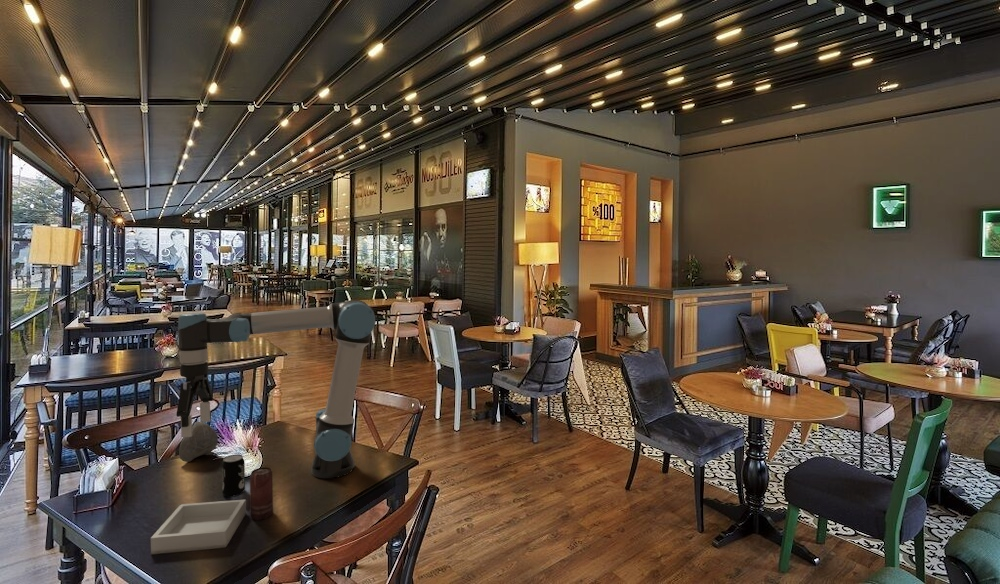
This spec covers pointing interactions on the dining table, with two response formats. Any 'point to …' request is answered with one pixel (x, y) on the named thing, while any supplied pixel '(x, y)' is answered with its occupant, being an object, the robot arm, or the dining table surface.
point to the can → (261, 493)
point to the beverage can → (233, 475)
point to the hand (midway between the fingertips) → (196, 428)
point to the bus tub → (199, 527)
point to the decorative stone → (198, 442)
